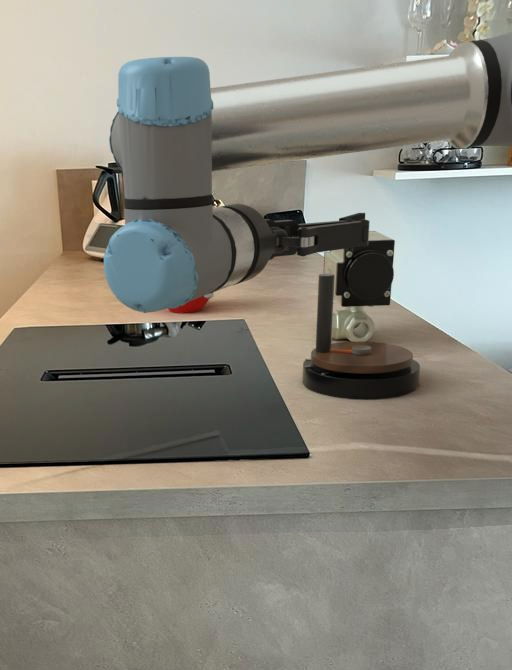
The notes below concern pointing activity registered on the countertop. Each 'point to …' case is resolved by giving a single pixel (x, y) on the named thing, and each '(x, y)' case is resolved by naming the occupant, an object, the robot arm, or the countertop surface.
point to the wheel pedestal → (360, 382)
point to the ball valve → (360, 285)
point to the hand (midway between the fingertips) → (304, 224)
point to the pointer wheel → (351, 343)
